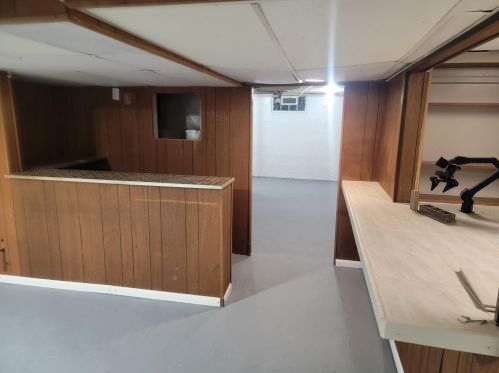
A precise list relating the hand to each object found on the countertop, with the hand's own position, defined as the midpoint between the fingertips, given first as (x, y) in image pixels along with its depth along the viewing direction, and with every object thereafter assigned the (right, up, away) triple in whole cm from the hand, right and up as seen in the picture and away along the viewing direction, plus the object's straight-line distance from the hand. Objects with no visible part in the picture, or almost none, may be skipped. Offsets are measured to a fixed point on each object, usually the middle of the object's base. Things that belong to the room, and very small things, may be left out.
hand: (436, 191), depth 211 cm
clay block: (-11, -12, +9) cm, 19 cm away
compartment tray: (-6, -16, -9) cm, 19 cm away
